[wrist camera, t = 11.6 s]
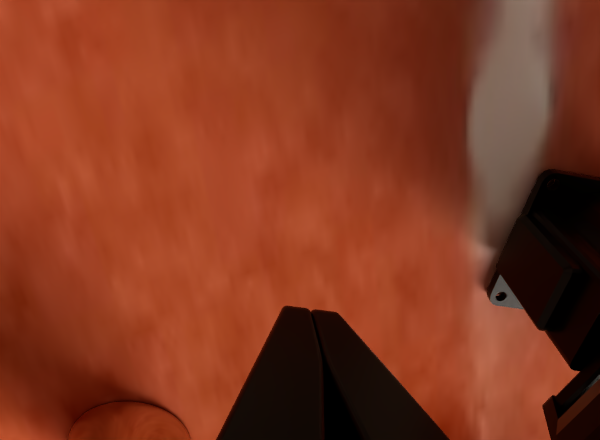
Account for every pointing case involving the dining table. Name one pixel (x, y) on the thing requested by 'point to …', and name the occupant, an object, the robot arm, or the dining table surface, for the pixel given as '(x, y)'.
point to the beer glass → (128, 423)
